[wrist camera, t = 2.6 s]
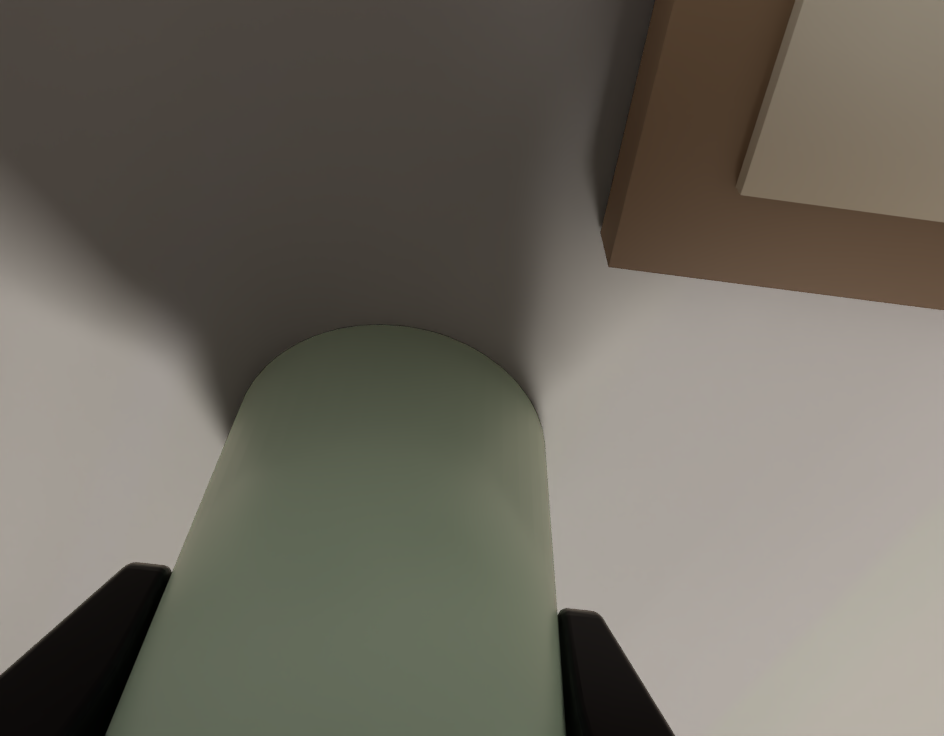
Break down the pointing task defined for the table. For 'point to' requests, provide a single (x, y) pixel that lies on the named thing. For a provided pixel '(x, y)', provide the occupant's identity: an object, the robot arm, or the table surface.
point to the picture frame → (787, 148)
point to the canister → (364, 557)
